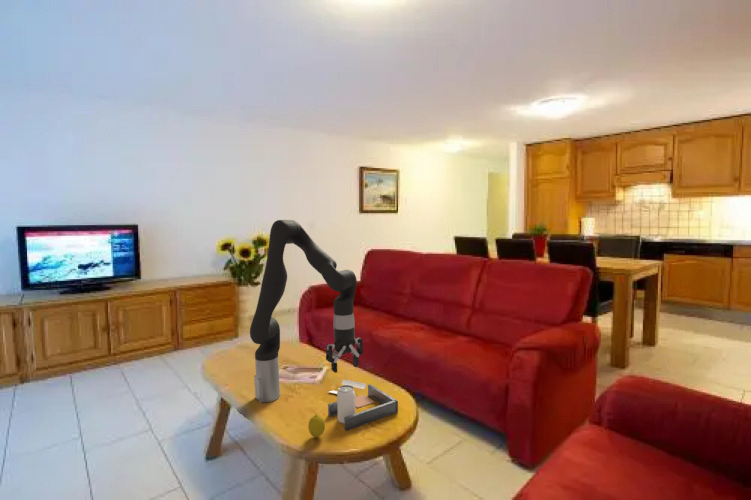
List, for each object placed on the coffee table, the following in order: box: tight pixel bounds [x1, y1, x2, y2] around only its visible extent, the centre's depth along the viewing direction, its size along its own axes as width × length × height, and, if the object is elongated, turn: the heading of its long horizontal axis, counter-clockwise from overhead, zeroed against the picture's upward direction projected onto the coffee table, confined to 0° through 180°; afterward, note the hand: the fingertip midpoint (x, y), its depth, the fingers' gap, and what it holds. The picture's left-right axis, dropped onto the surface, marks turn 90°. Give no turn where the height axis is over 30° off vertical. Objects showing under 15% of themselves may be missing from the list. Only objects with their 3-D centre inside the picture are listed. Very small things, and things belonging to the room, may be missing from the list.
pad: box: [355, 394, 376, 409], centre depth 162 cm, size 8×8×1 cm
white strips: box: [329, 379, 367, 397], centre depth 173 cm, size 12×12×2 cm
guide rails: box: [327, 383, 399, 432], centre depth 154 cm, size 23×19×4 cm
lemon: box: [307, 414, 326, 438], centre depth 137 cm, size 6×6×8 cm
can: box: [336, 385, 356, 425], centre depth 147 cm, size 6×6×12 cm
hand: (345, 369), depth 146 cm, fingers open, 8 cm apart
